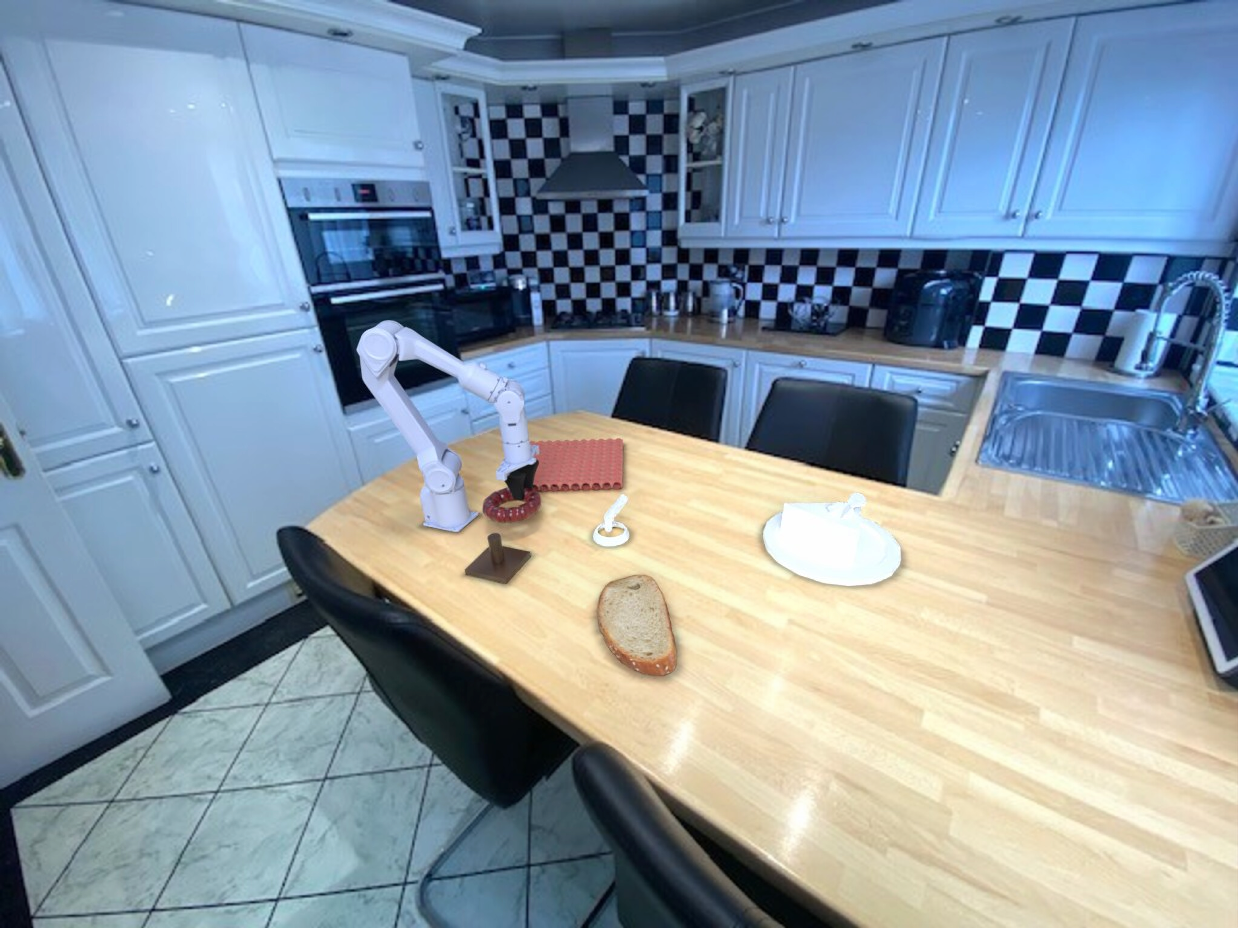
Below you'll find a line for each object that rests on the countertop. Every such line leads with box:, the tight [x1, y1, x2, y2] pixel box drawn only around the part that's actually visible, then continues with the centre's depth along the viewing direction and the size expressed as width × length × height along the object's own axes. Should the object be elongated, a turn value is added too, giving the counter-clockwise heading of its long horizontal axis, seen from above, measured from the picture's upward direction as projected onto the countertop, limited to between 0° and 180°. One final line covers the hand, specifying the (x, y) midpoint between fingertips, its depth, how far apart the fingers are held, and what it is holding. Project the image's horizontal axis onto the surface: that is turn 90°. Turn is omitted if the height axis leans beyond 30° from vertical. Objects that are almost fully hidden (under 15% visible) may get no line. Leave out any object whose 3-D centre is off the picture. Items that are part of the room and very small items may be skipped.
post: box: [464, 532, 532, 585], centre depth 96 cm, size 9×9×7 cm
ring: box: [481, 487, 542, 524], centre depth 109 cm, size 12×12×3 cm
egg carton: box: [529, 437, 624, 493], centre depth 136 cm, size 28×28×2 cm
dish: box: [762, 492, 902, 587], centre depth 97 cm, size 25×25×11 cm
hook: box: [592, 493, 631, 547], centre depth 103 cm, size 8×12×7 cm
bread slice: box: [596, 574, 678, 677], centre depth 81 cm, size 18×18×4 cm
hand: (523, 495), depth 113 cm, fingers closed on ring, 3 cm apart
